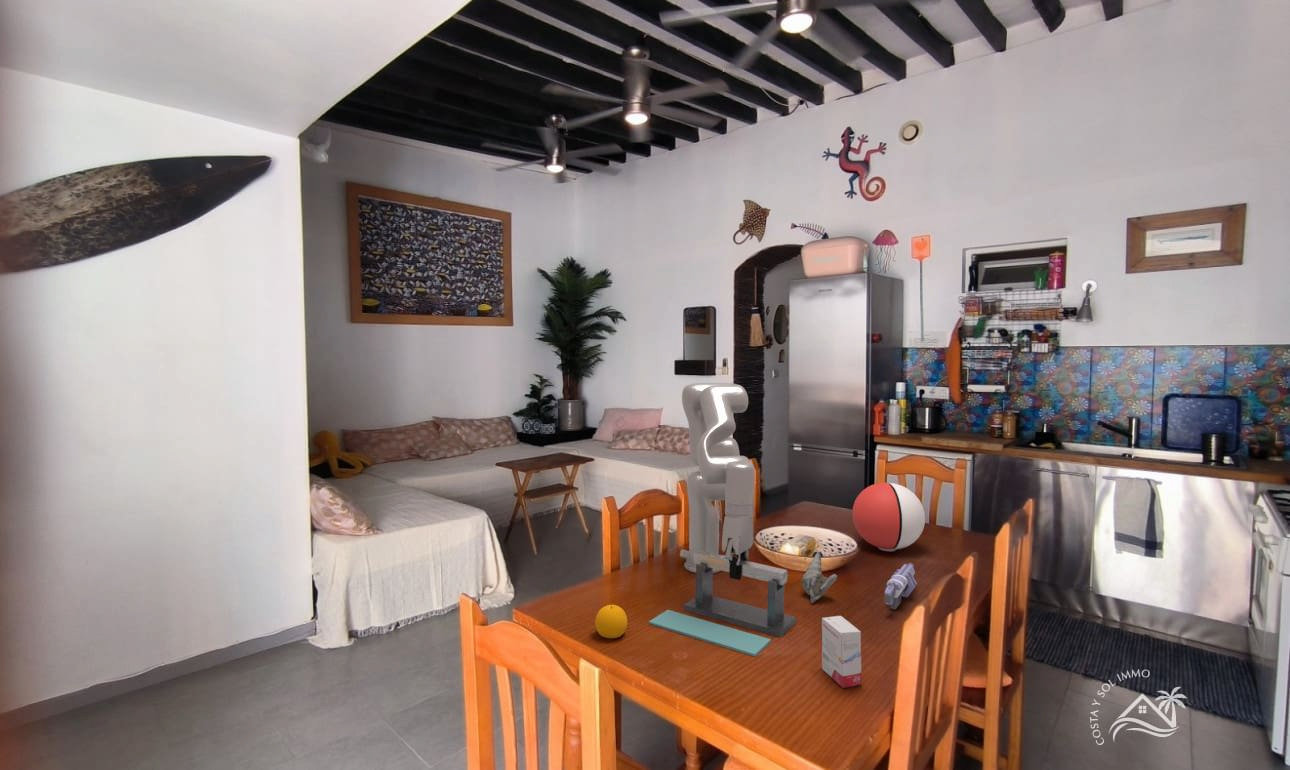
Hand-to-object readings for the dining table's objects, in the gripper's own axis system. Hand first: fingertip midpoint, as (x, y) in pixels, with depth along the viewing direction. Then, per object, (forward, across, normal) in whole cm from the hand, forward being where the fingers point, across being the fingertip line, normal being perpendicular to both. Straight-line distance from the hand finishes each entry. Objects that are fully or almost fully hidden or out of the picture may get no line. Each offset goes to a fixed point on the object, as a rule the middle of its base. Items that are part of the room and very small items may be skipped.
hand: (738, 575), depth 166 cm
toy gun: (+11, -35, +33) cm, 49 cm away
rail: (-1, 0, 0) cm, 1 cm away
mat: (+11, +14, -2) cm, 17 cm away
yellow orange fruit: (+11, +28, -21) cm, 37 cm away
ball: (+12, -80, +18) cm, 83 cm away
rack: (+11, 0, 0) cm, 11 cm away
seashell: (+11, -26, +13) cm, 32 cm away
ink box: (+11, +16, +32) cm, 37 cm away
